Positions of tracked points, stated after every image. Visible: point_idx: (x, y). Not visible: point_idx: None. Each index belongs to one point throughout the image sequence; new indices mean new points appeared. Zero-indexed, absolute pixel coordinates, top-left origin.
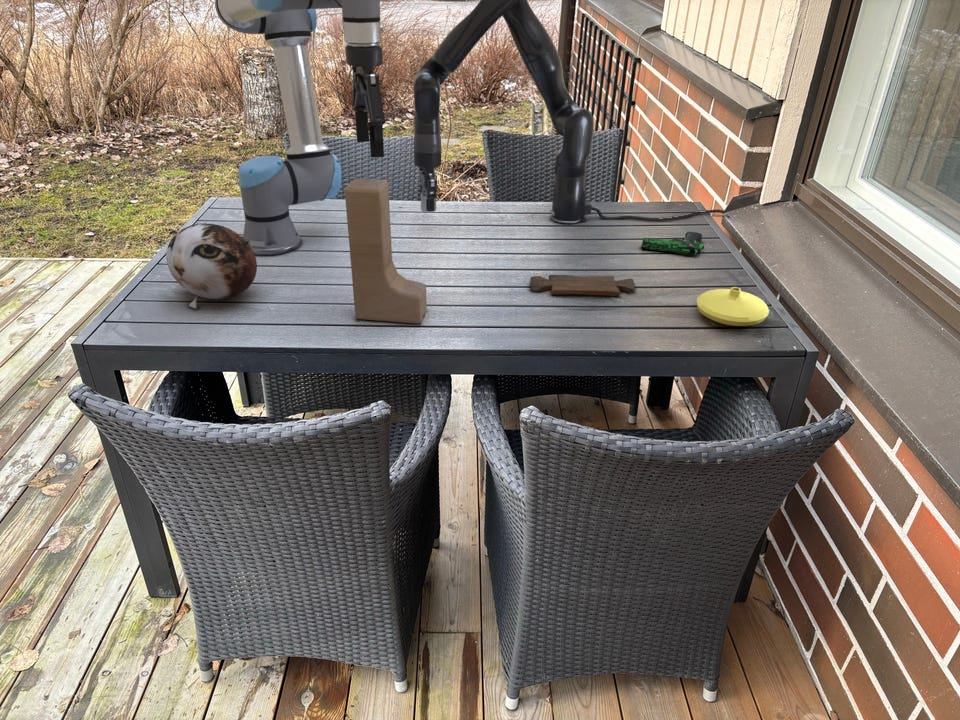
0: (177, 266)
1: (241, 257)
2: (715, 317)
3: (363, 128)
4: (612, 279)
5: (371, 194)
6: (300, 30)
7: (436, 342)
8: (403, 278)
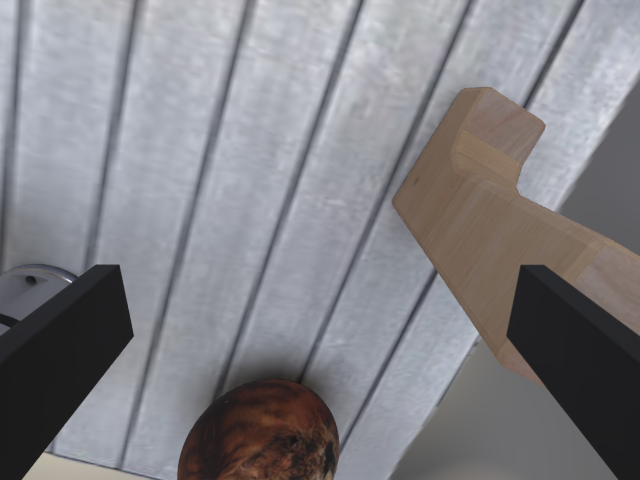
0: None
1: (321, 441)
2: None
3: (71, 353)
4: None
5: None
6: None
7: (590, 110)
8: (469, 140)
